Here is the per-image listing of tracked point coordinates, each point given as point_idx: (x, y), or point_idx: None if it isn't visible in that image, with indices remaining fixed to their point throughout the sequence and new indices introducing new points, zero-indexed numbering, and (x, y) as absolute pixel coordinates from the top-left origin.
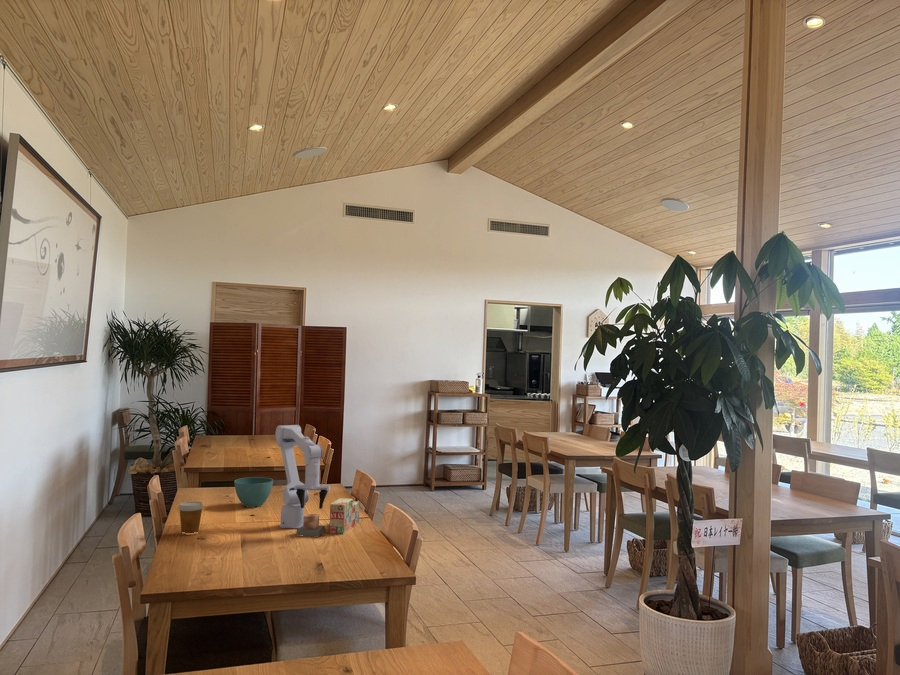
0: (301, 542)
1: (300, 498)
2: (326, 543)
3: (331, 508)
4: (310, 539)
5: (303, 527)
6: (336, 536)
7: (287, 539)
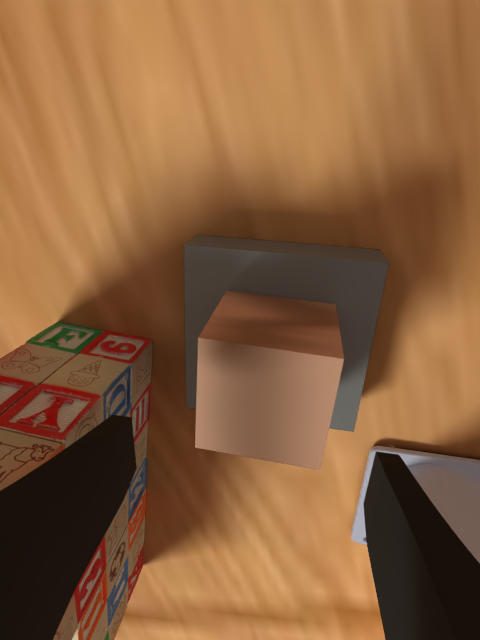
0: (298, 7)
1: (474, 600)
2: (68, 9)
3: (27, 463)
4: (240, 141)
5: (333, 307)
6: (76, 256)
7: (454, 113)
